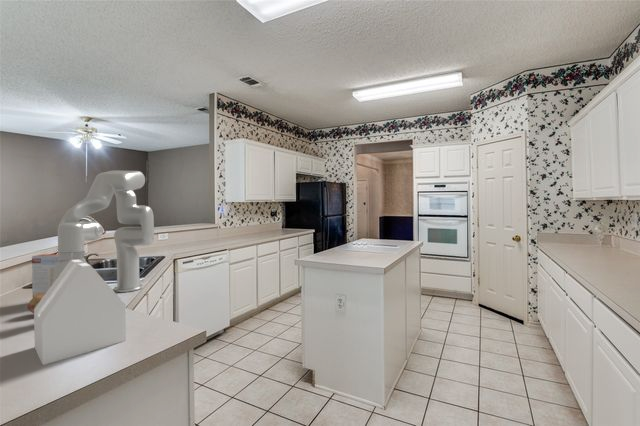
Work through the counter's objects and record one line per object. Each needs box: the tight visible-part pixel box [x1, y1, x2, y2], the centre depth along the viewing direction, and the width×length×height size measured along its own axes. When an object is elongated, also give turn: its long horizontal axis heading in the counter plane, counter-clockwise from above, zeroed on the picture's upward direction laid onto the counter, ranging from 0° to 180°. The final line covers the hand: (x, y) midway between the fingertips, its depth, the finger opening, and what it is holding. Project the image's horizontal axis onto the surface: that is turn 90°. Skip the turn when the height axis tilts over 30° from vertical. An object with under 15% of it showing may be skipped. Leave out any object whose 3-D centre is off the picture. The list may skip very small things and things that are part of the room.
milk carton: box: [33, 259, 127, 366], centre depth 92 cm, size 19×15×25 cm
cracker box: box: [31, 253, 58, 299], centre depth 132 cm, size 14×6×21 cm, turn 84°
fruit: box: [27, 294, 45, 314], centre depth 117 cm, size 8×8×8 cm
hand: (72, 304), depth 113 cm, fingers open, 3 cm apart
